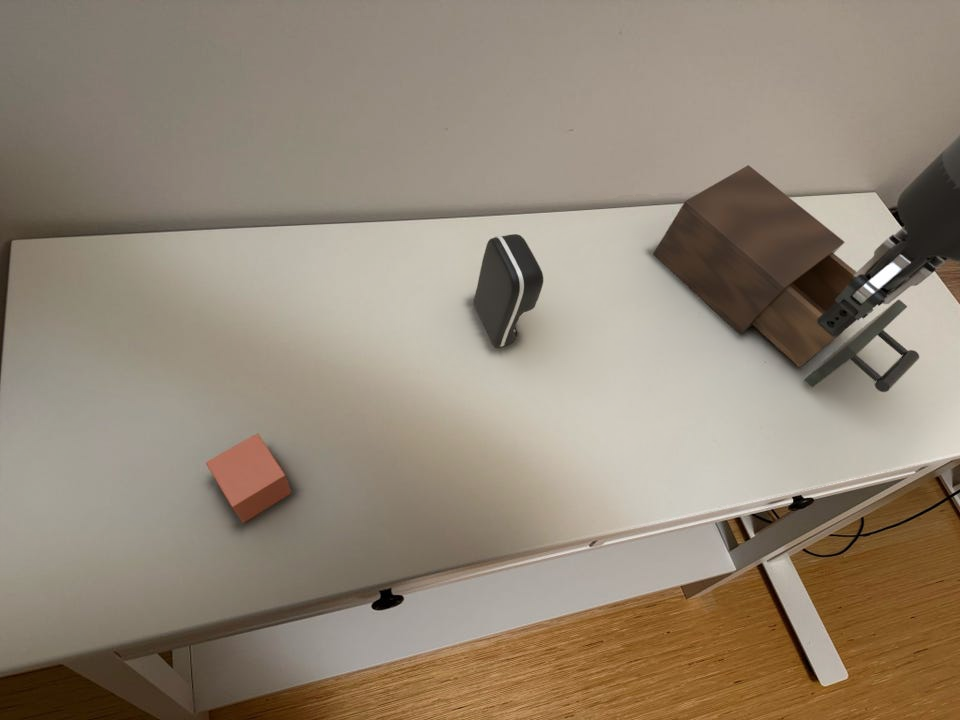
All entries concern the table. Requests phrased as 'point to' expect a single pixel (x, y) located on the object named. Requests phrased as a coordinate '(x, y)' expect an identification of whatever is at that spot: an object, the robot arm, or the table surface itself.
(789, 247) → the cabinet
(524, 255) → the battery charger
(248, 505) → the block
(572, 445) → the table surface
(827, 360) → the drawer
